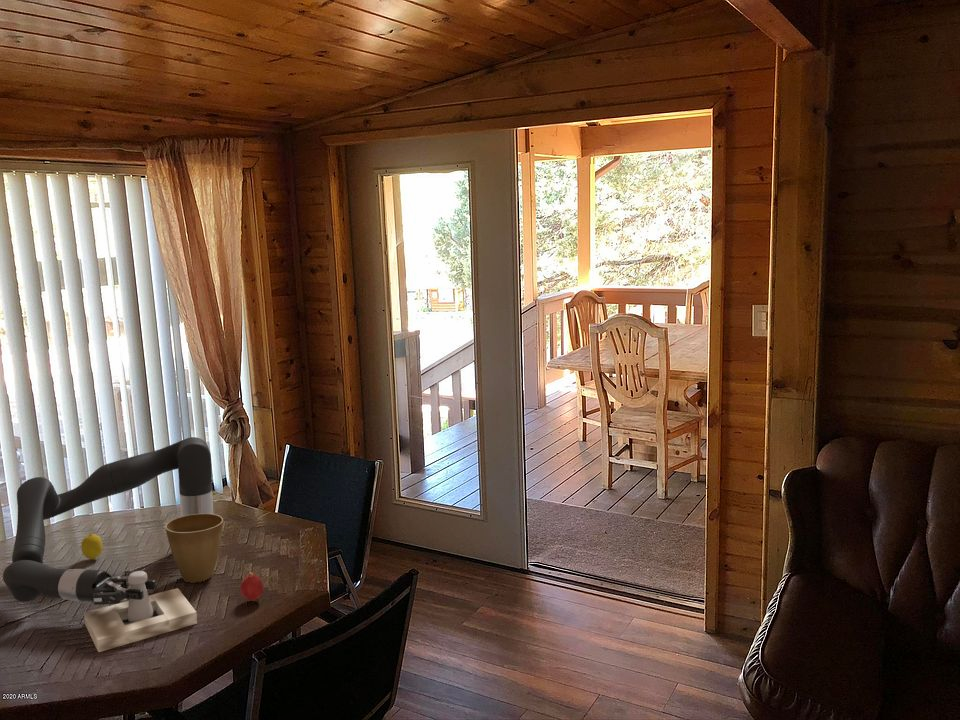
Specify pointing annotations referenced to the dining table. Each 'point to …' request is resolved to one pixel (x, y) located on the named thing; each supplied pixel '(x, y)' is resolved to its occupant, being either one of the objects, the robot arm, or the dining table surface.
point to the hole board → (114, 633)
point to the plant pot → (195, 544)
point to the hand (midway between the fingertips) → (148, 589)
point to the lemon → (91, 546)
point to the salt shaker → (142, 607)
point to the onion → (252, 587)
